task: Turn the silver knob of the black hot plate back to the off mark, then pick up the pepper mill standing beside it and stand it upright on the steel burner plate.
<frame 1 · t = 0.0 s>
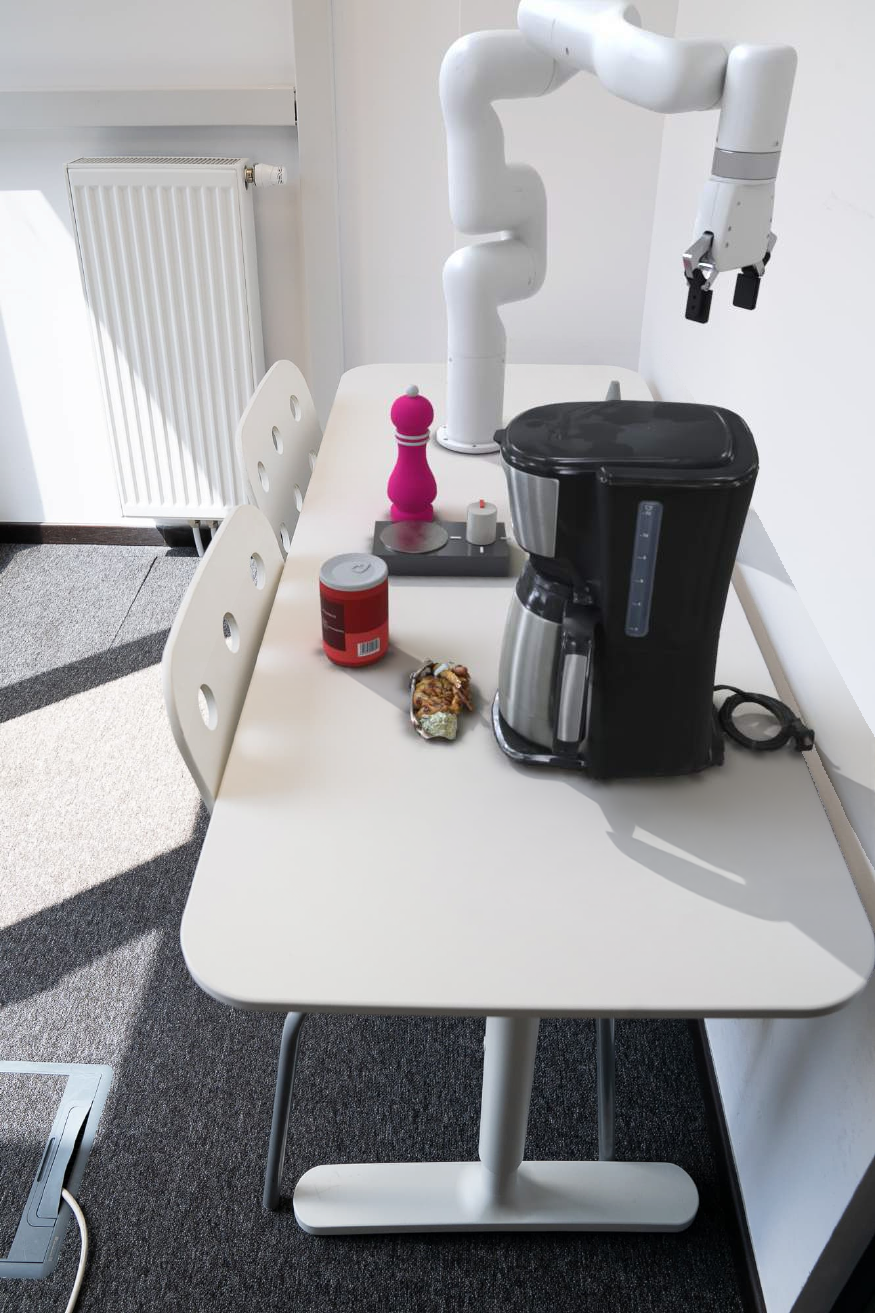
hand: (720, 314, 130), 31 cm above the table, tool pointing down, fingers open, 9 cm apart
hob knob: (481, 522, 138), point 5 cm above the table, hinge at 90.0°
hot plate: (439, 557, 140), on the table
pepper mill: (412, 519, 150), on the table
coffee maker: (632, 744, 108), on the table
canned food: (356, 651, 121), on the table
foil-wrapped kebab: (441, 708, 112), on the table
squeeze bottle: (601, 498, 157), on the table
burner plate: (414, 557, 140), resting on hot plate
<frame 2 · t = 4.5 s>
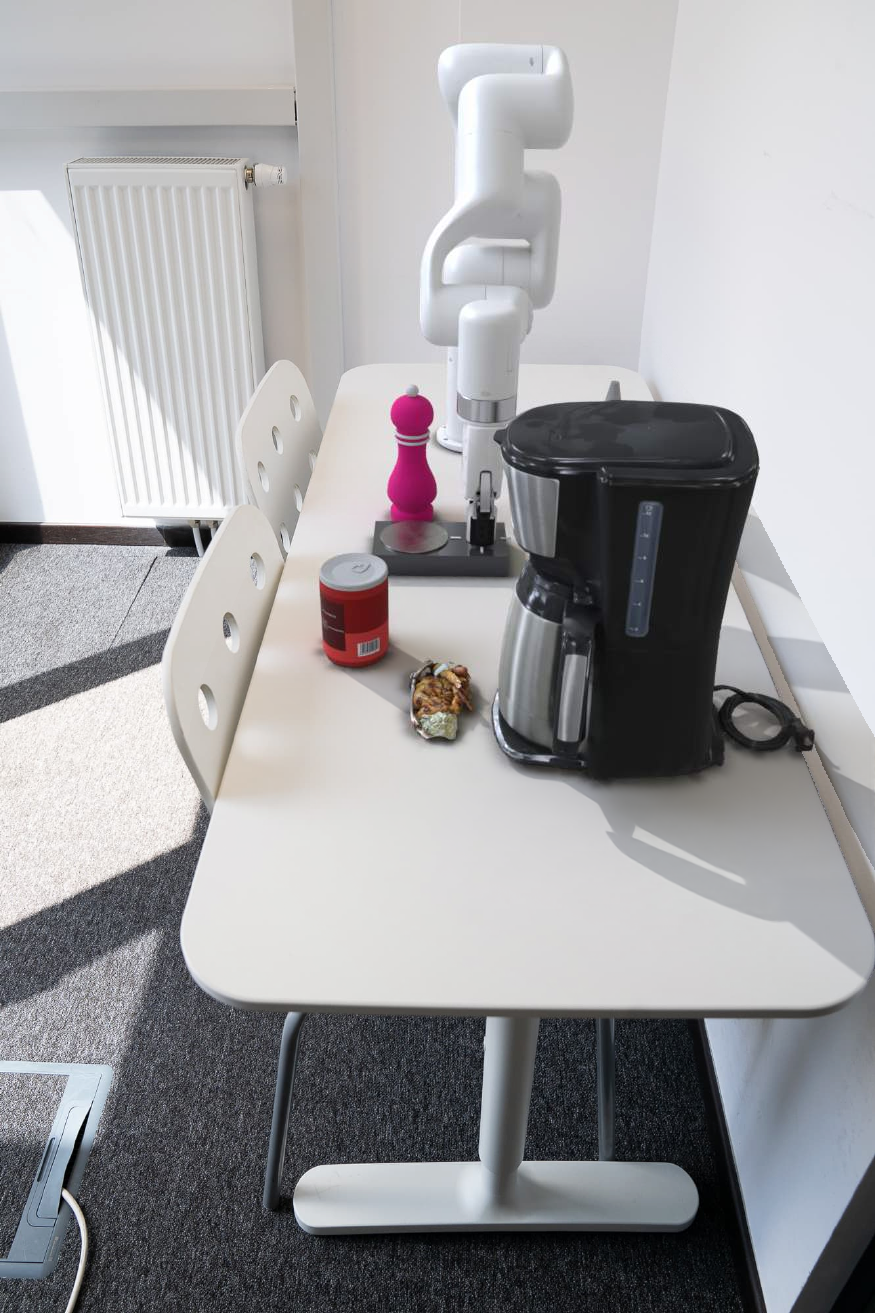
hand: (480, 534, 139), 4 cm above the table, tool pointing down, fingers closed on hob knob, 4 cm apart
hob knob: (481, 522, 138), point 5 cm above the table, hinge at 90.0°, touching gripper
everything else where it was.
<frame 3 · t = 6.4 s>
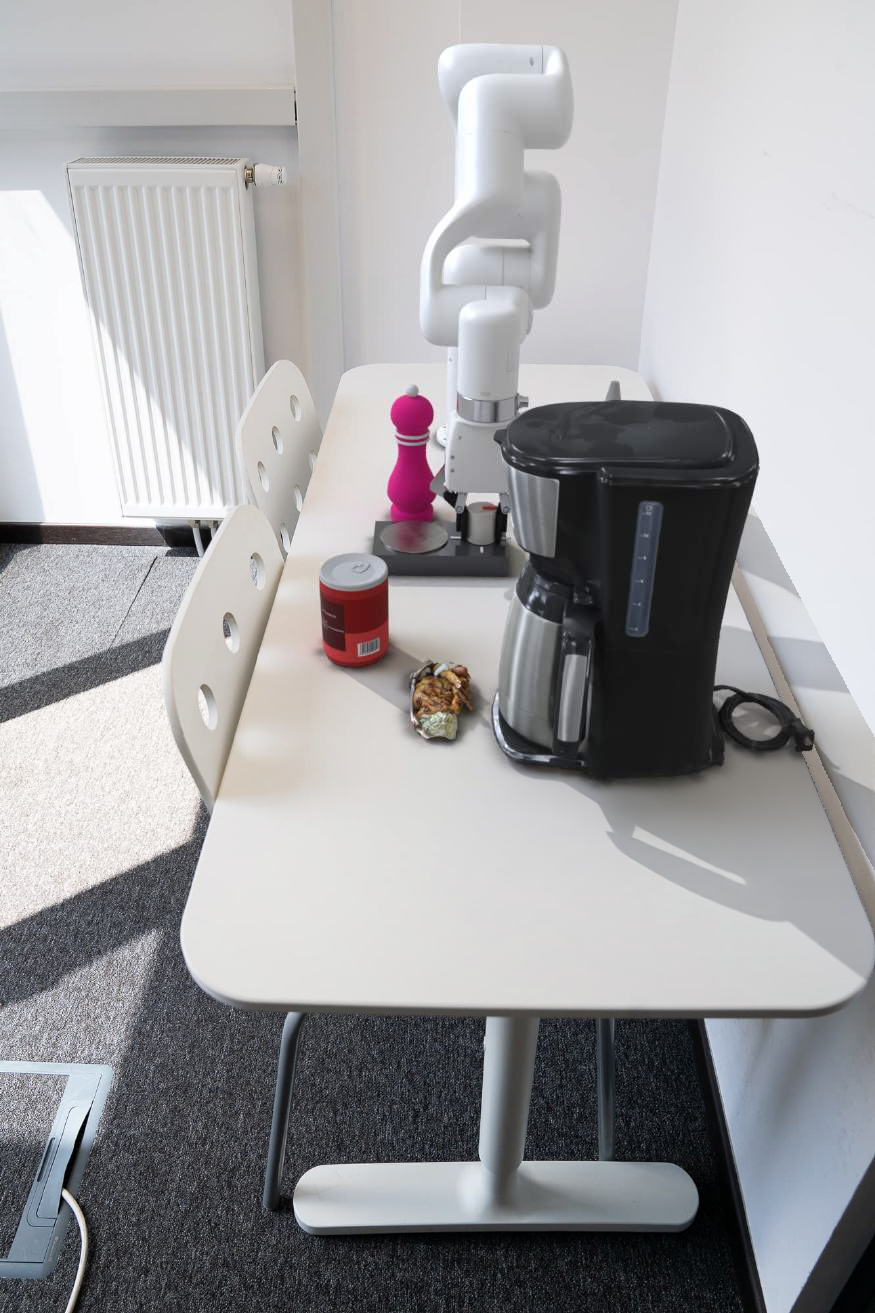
hand: (480, 534, 139), 4 cm above the table, tool pointing down, fingers closed on hob knob, 4 cm apart
hob knob: (481, 522, 138), point 5 cm above the table, hinge at -0.3°, touching gripper
everything else where it was.
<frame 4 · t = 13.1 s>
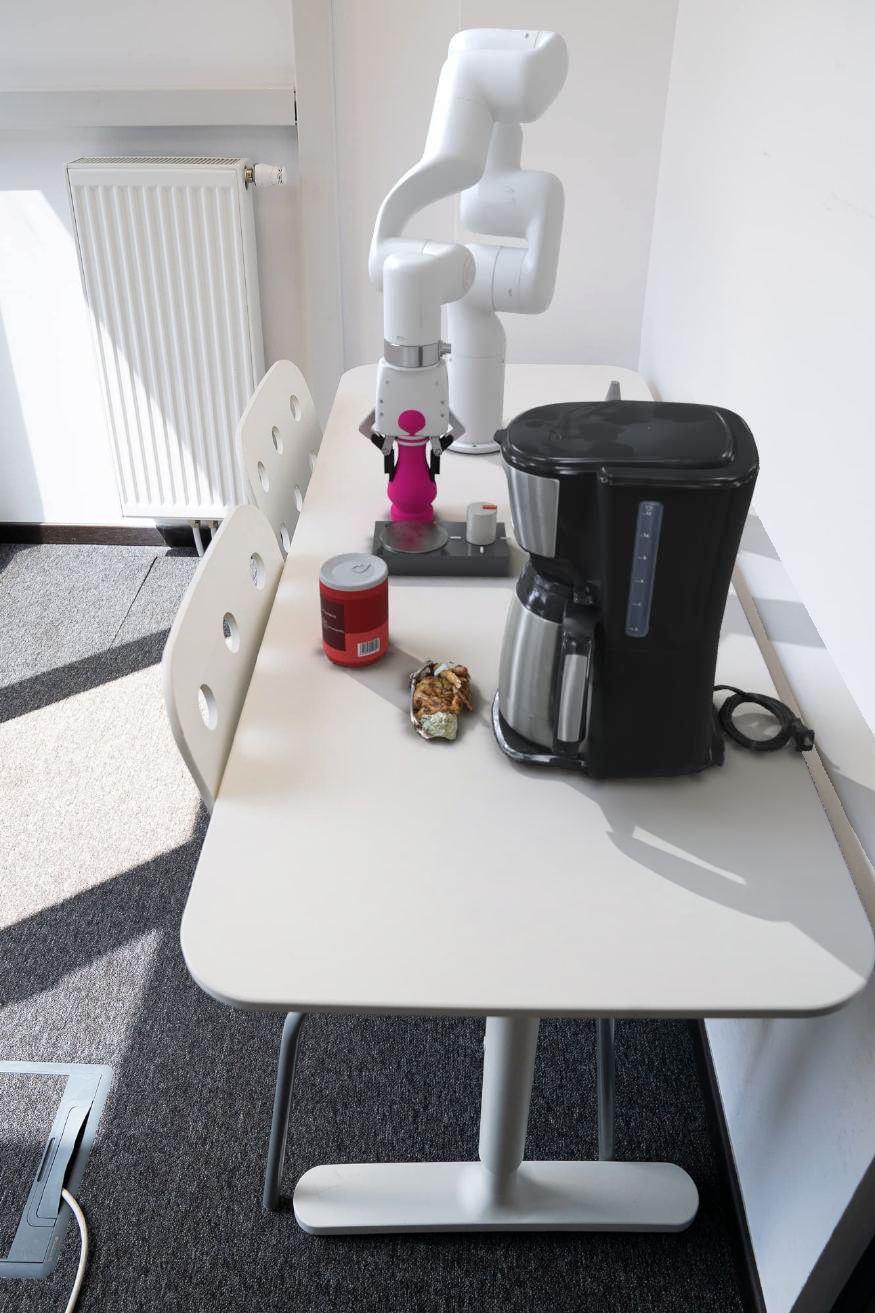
hand: (412, 476, 147), 7 cm above the table, tool pointing down, fingers closed on pepper mill, 5 cm apart
hob knob: (481, 522, 138), point 5 cm above the table, hinge at -0.1°
pepper mill: (412, 519, 150), on the table, touching gripper
everything else where it was.
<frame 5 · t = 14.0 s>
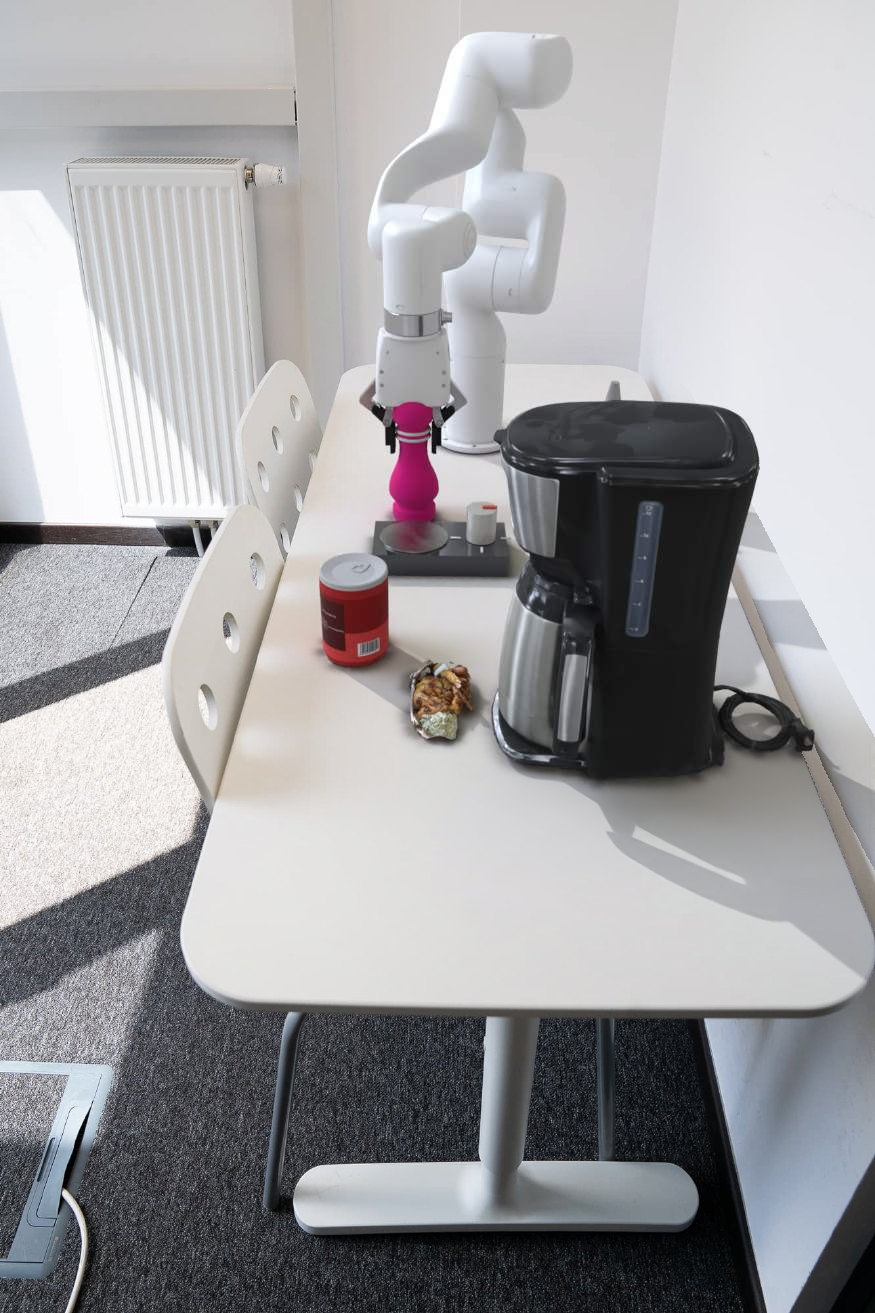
hand: (413, 448, 145), 11 cm above the table, tool pointing down, fingers closed on pepper mill, 5 cm apart
pepper mill: (414, 516, 150), on the table, touching gripper
everything else where it was.
when the fingers open (14 cm above the table, at t = 17.8 s): pepper mill stays where it is, resting on burner plate.
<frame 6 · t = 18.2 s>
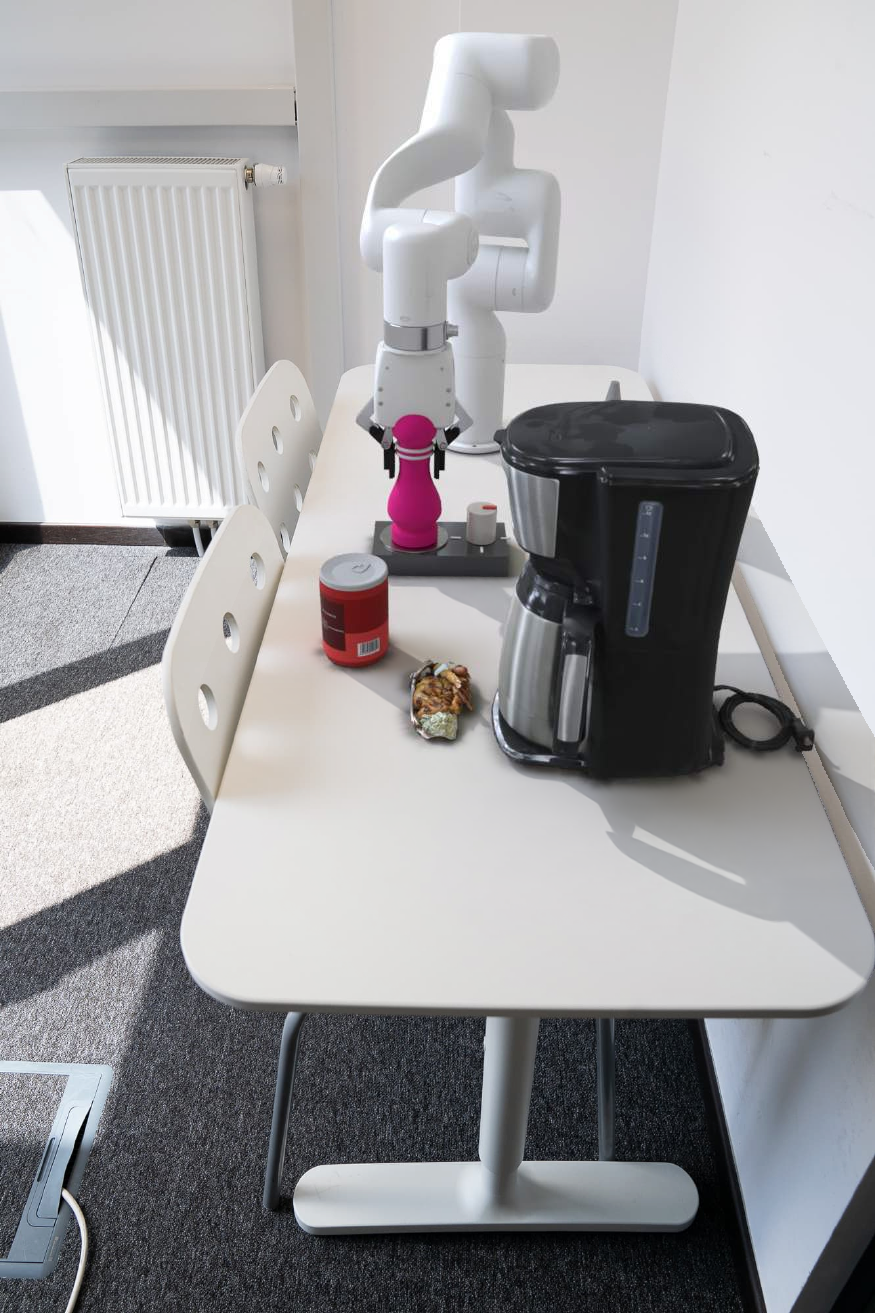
hand: (414, 473, 133), 12 cm above the table, tool pointing down, fingers open, 5 cm apart
pepper mill: (414, 538, 138), point 3 cm above the table, touching burner plate
everything else where it was.
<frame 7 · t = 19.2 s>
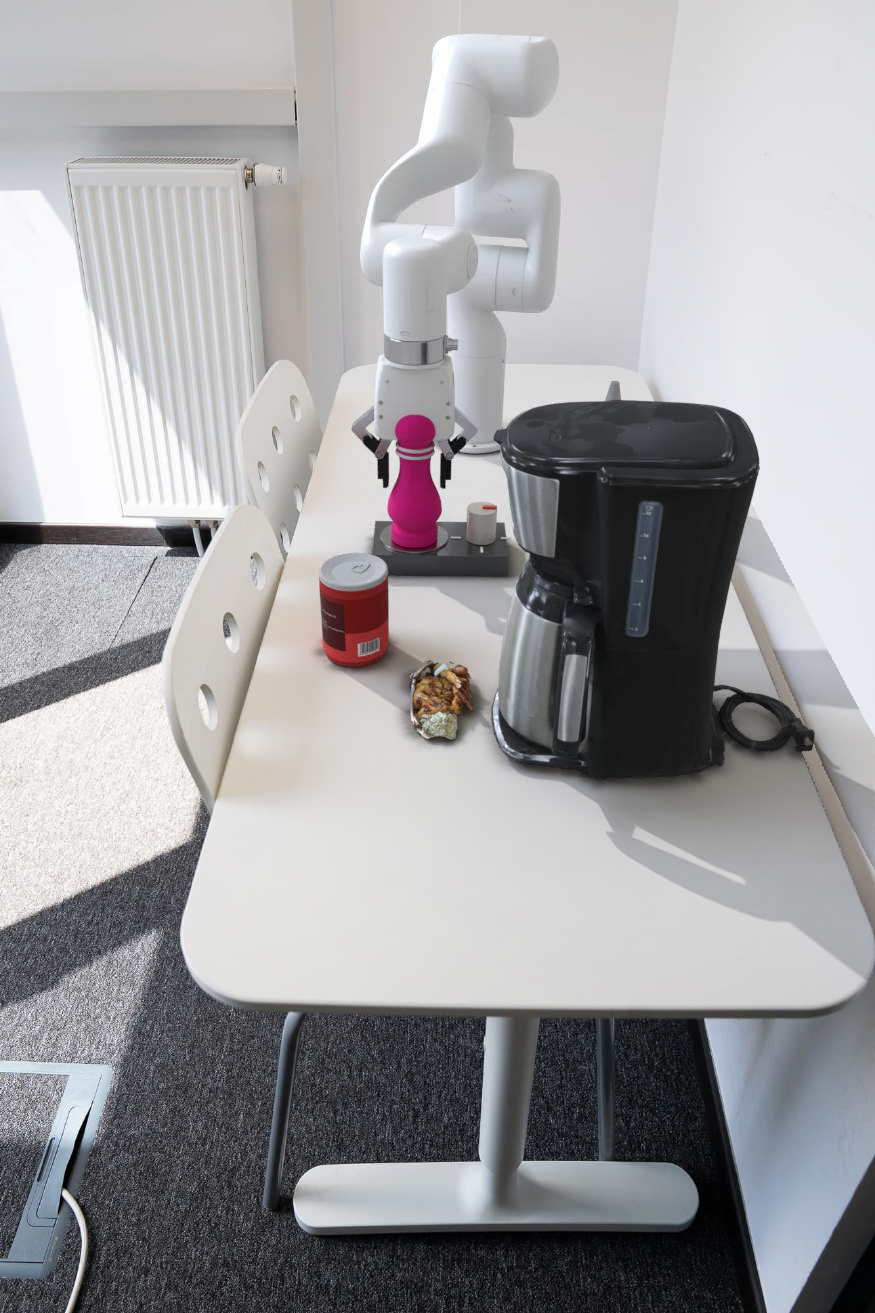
hand: (414, 483, 134), 11 cm above the table, tool pointing down, fingers open, 6 cm apart
nothing on the table moved.
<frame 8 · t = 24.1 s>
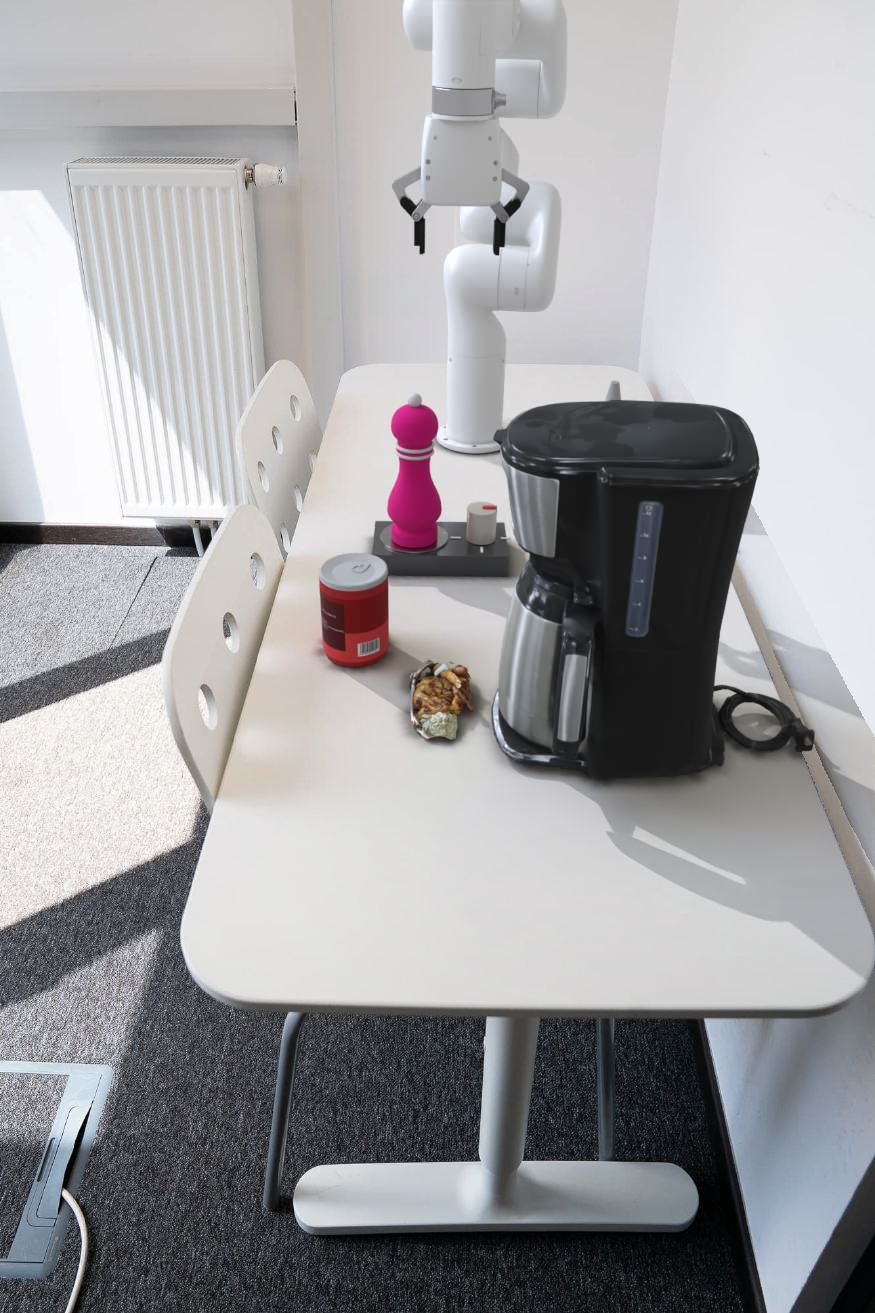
hand: (459, 252, 133), 36 cm above the table, tool pointing down, fingers open, 9 cm apart
nothing on the table moved.
at the end: hob knob at +0° (first picture: +90°); pepper mill 0.6 cm off-centre on the burner plate, point 3.1 cm above the burner plate's base; pepper mill tilted 0° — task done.
